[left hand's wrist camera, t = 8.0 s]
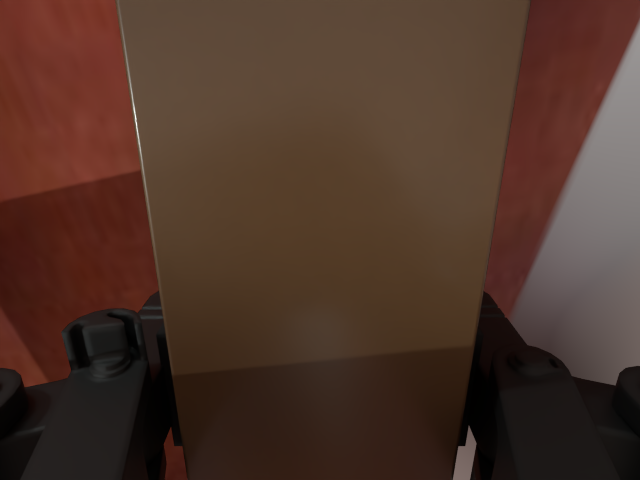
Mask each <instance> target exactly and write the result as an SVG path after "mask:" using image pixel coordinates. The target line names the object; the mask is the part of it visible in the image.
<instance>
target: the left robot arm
mask: <svg viewBox="0 0 640 480" xmlns="http://www.w3.org/2000/svg"><path fill="white" fill-rule="evenodd" d="M61 333H62V337H63V340H64V344H65V348H66V352H67V356H68V359H69V363H70V367H71V372H70V375H69V377H68V378H66V379H63V380H59V381H54V382H50V383H45V384H40V385H35V386H30V387H24V384H23V381H22V378H21V375H20V374H19V373H17V372H16V371H15V370H12V369H5V368H0V480H165V471H166V456H165V450H164V445H163V444H164V442H165V439H166V437H167V435H168V432H169V430H170V427H171V428H172V434H173V440H174V446H183V445H182V439H181V432H180V426H179V419H178V412H177V406H176V399H175V393H174V386H173V379H172V373H171V366H170V359H169V353H168V346H167V340H166V333H165V326H164V320H163V313H162V306H161V300H160V293H159V291H158V292H156V293H155V294H153V295H152V296H150V298H149V299H148V300H147V302H146V303H145V304H144V306H143V307H142V310H140V311H139V312H138V314H137V313H136V312H135V311H132V310H128V309H124V308H121V309H106V310H101V311H96V312H93V313H90V314H87V315H84V316H82V317H80V318H78V319H76V320H75V321H73V322H71V323H70V324H68V325H67V327H66V328H65V329H64V330H63V331H62V332H61ZM468 426H470V429H471V431H472V433H473V436H474V438H475V440H476V443H477V445H476V450H475V456H474V461H473V467H472V472H471V478H470V480H640V366H635V367H628V368H625V369H624V370H623V371H622V372H620V373H619V376H618V380H617V383H616V386H614V385H610V384H605V383H600V382H595V381H590V380H585V379H581V378H577V377H573V376H571V374H570V372H569V370H568V368H567V367H566V366H565V365H564V363H563V362H562V361H561V360H559V359H558V358H557V357H555V356H554V355H552V354H551V353H549V352H546V351H544V350H542V349H539V348H537V347H533V346H528V345H527V344H526V343H525V342H524V340H523V339H522V338H521V336H520V335H519V334H518V332H517V331H516V330H515V328H514V327H513V326H512V324H511V323H510V322H509V320H508V319H507V318H505V315H504V314H503V312H502V311H501V310H500V308H498V306H497V304H496V303H495V302H494V300H493V299H492V298H491V296H490V295H489V294H487V293H486V292H484V291H483V297H482V304H481V310H480V316H479V322H478V328H477V334H476V340H475V346H474V353H473V359H472V365H471V371H470V377H469V383H468V389H467V395H466V401H465V408H464V414H463V420H462V426H461V432H460V438H459V444H458V446H465V444H466V438H467V432H468Z"/></svg>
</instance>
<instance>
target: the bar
mask: <svg viewBox="0 0 640 480" xmlns="http://www.w3.org/2000/svg"><path fill="white" fill-rule="evenodd" d="M115 2H116V9H117V15H118V22H119V29H120V35H121V42H122V48H123V55H124V62H125V68H126V75H127V81H128V88H129V95H130V101H131V108H132V115H133V121H134V128H135V134H136V141H137V148H138V154H139V161H140V168H141V174H142V181H143V187H144V194H145V201H146V207H147V214H148V220H149V227H150V234H151V240H152V247H153V254H154V260H155V267H156V273H157V280H158V287H159V293H160V300H161V306H162V313H163V320H164V326H165V333H166V340H167V346H168V353H169V359H170V366H171V373H172V379H173V386H174V393H175V399H176V406H177V412H178V419H179V426H180V432H181V439H182V445H183V452H184V459H185V465H186V472H187V479H188V480H453V475H454V469H455V463H456V456H457V450H458V444H459V438H460V432H461V426H462V420H463V414H464V408H465V401H466V395H467V389H468V383H469V377H470V371H471V365H472V359H473V353H474V346H475V340H476V334H477V328H478V322H479V316H480V310H481V304H482V297H483V291H484V285H485V279H486V273H487V267H488V261H489V255H490V249H491V242H492V236H493V230H494V224H495V218H496V212H497V206H498V200H499V194H500V187H501V181H502V175H503V169H504V163H505V157H506V151H507V145H508V138H509V132H510V126H511V120H512V114H513V108H514V102H515V96H516V90H517V83H518V77H519V71H520V65H521V59H522V53H523V47H524V41H525V34H526V28H527V22H528V16H529V10H530V4H531V0H115Z"/></svg>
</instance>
